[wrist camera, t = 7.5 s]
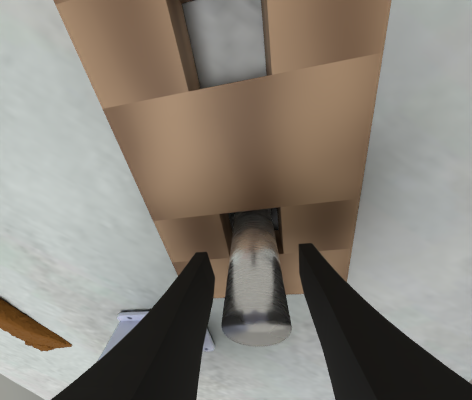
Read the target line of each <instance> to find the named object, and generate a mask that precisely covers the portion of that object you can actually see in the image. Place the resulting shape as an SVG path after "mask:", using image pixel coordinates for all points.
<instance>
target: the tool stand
mask: <svg viewBox="0 0 472 400" xmlns="http://www.w3.org/2000/svg"><path fill="white" fill-rule="evenodd" d="M189 1H193V0H54V2H55V5H56V7H57V9H58V11H59V13H60V16H61V18H62V20H63V22H64V25H65V27H66V29H67V31H68V33H69V36H70V38H71V40H72V42H73V44H74V47H75V49H76V51H77V53H78V56H79V58H80V60H81V62H82V64H83V67H84V69H85V71H86V73H87V75H88V78H89V80H90V82H91V84H92V87H93V89H94V91H95V93H96V95H97V98H98V100H99V102H100V104H101V106H102V109H103V111H104V113H105V115H106V117H107V120H108V122H109V124H110V126H111V129H112V131H113V133H114V135H115V137H116V140H117V142H118V144H119V146H120V148H121V151H122V153H123V155H124V157H125V160H126V162H127V164H128V166H129V168H130V171H131V173H132V175H133V177H134V179H135V182H136V184H137V186H138V188H139V191H140V193H141V195H142V197H143V199H144V202H145V204H146V206H147V208H148V210H149V213H150V215H151V217H152V219H153V221H154V224H155V226H156V228H157V230H158V233H159V235H160V237H161V239H162V241H163V244H164V246H165V248H166V250H167V252H168V255H169V257H170V259H171V261H172V264H173V266H174V268H175V270H176V272H177V275H178V276H179V274H180V273H181V272H182V270H183V269H184V268H185V266H186V265H187V264H188V262H189V261H190V260H191V258H192V257H193V256H194V254H195V253H196V252H207V253H208V257H209V260H210V263H211V266H212V269H213V272H214V275H215V287H214V297H213V298H225V293H226V284H227V276H228V268H229V259H230V251H231V243H232V234H233V233H232V229H231V224H230V220H229V215H228V213H232V212H241V211H250V210H260V209H269V208H277V214H278V227H279V230H275V231H274V232H275V238H276V243H277V249H278V255H279V260H280V266H281V271H282V277H283V282H284V288H285V294H304V292H303V288H302V283H301V279H300V274H299V244H304V243H312V244H313V245H314V246H315V247H316V248H317V250H318V251H319V252H320V253H321V255H322V256H323V257H324V258H325V259H326V260H327V262H328V263H329V264H330V265H331V266H332V267H333V268H334V269H335V270H336V272H337V273H338V274H339V275H340V276H341V277H342V278H343V279H344V280H345V281H346V282H347V277H348V271H349V264H350V258H351V252H352V245H353V239H354V233H355V226H356V220H357V214H358V208H359V201H360V195H361V189H362V182H363V176H364V170H365V163H366V157H367V151H368V145H369V138H370V132H371V126H372V119H373V113H374V107H375V100H376V94H377V88H378V82H379V75H380V69H381V63H382V56H383V50H384V44H385V38H386V31H387V25H388V19H389V12H390V6H391V0H261V6H262V19H263V32H264V45H265V58H266V71H267V76H264V77H259V78H254V79H249V80H244V81H239V82H234V83H229V84H224V85H219V86H214V87H209V88H204V89H200V84H199V80H198V75H197V71H196V66H195V62H194V57H193V53H192V48H191V44H190V39H189V35H188V30H187V26H186V21H185V17H184V12H183V8H182V3H186V2H189Z"/></svg>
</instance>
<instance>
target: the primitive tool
mask: <svg viewBox="0 0 472 400" xmlns="http://www.w3.org/2000/svg"><path fill="white" fill-rule="evenodd" d="M0 328H1V329H2V330H4V331H7V332H9V333H10V334H11V335H12V336H15V337H16V338H19V339H21V340H24V341H25V344H26V345H29V346H31V345H32V346H33V347H34V348H37V349H39V350H40V351H48V350H52V349H55V348H64V347H71V346H72V344H70V343H69V342H68V341H66V340H65V339H63V338H62V337H60V336H59V335H57V334H55V333H54V332H52V331H50V330H49V329H47V328H46V327H44V326H42V325H41V324H39V323H38V322H36V321H35V320H33V319H32V318H30V317H28V316H27V315H25V314H23V313H22V312H20V311H19V310H18V309H16V308H15V307H13V306H12V305H10V304H8V303H7V302H5V301H4V300H2V299H1V298H0Z"/></svg>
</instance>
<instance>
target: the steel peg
mask: <svg viewBox="0 0 472 400" xmlns="http://www.w3.org/2000/svg"><path fill="white" fill-rule="evenodd" d="M222 330H223V332H224V334H225V335H226V336H227V337H228V338H230V339H231V340H233V341H235V342H237V343H240V344H243V345H248V346H270V345H274V344H277V343H280V342H282V341H284V340H285V339H286V338H287V337H288V336H289V335H290V333H291V330H292V327H291V321H290V316H289V310H288V305H287V299H286V294H285V288H284V282H283V277H282V271H281V266H280V260H279V255H278V249H277V243H276V238H275V232H274V227H273V221H272V216H271V210H270V208H269V209H260V210H250V211H241V212H235V218H234V226H233V234H232V243H231V251H230V259H229V268H228V276H227V284H226V293H225V301H224V309H223V317H222Z"/></svg>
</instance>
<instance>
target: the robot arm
mask: <svg viewBox="0 0 472 400" xmlns="http://www.w3.org/2000/svg"><path fill="white" fill-rule="evenodd" d="M299 274H300V279H301V283H302V288H303V292H304V295H305V298H306V301H307V304H308V307H309V310H310V313H311V316H312V319H313V322H314V325H315V328H316V331H317V334H318V337H319V340H320V342H321V346H322V349H323V352H324V356H325V360H326V364H327V367H328V371H329V375H330V379H331V383H332V387H333V391H334V395H335V399H336V400H472V384H470V383H469V382H468V381H466V380H465V379H464V378H462V377H461V376H459V375H458V374H457V373H455V372H454V371H452V370H451V369H450V368H448V367H447V366H445V365H444V364H443V363H442V362H440V361H439V360H438V359H436V358H435V357H434V356H432V355H431V354H430V353H428V352H427V351H426V350H424V349H423V348H422V347H421V346H419V345H418V344H417V343H415V342H414V341H413V340H411V339H410V338H409V337H407V336H406V335H405V334H404V333H403V332H401V331H400V330H399V329H398V328H396V327H395V326H394V325H393V324H392V323H390V322H389V321H388V320H387V319H386V318H385V317H383V316H382V315H381V314H380V313H379V312H378V311H376V310H375V309H374V308H373V307H372V306H371V305H370V304H369V303H368V302H367V301H365V300H364V299H363V298H362V297H361V296H360V295H359V294H358V293H357V292H356V291H355V290H354V289H353V288H352V287H351V286H350V285H349V284H348V283H347V282H346V281H345V280H344V279H343V278H342V277H341V276H340V275H339V274H338V273H337V272H336V270H335V269H334V268H333V267H332V266H331V265H330V264H329V263H328V262H327V260H326V259H325V258H324V257H323V256H322V255H321V253H320V252H319V251H318V250H317V248H316V247H315V246H314V245H313V244H312V243H304V244H299ZM214 287H215V275H214V272H213V269H212V266H211V263H210V260H209V257H208V253H207V252H196V253H195V254H194V256H193V257H192V258H191V260H190V261H189V262H188V264H187V265H186V266H185V268H184V269H183V270H182V272H181V273H180V274H179V276H178V277H177V278H176V280H175V281H174V282H173V284H172V285H171V286H170V287H169V289H168V290H167V291H166V292H165V294H164V295H163V296H162V297H161V298H160V299H159V301H158V302H157V303H156V304H155V305H154V307H153V308H152V309H151V310H150V311H145V312H121V313H119V314H118V316H117V318H118V320H119V321H120V322H119V324H118V326H117V328H116V329H115V331H114V333H113V335H112V336H111V338H110V340H109V342H108V343H107V345H106V347H105V349H104V350H103V352H102V354H101V356H100V357H99V359H98V361H97V362H96V363H95V364H94V365H93V366H92V367H91V368H89V369H88V370H87V371H86V372H85V373H83V374H82V375H81V376H80V377H79V378H78V379H76V380H75V381H74V382H73V383H71V384H70V385H69V386H68V387H66V388H65V389H64V390H63V391H61V392H60V393H59V394H58V395H56V396H55V397H54V398H52V399H51V400H196V398H197V389H198V380H199V372H200V364H201V357H202V352H203V351H213V350H214V348H215V346H214V343H213V341H212V339H211V336H210V334H209V332H208V329H207V326H208V321H209V317H210V312H211V307H212V302H213V297H214Z"/></svg>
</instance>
